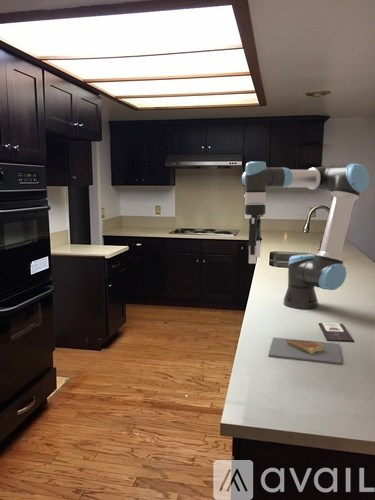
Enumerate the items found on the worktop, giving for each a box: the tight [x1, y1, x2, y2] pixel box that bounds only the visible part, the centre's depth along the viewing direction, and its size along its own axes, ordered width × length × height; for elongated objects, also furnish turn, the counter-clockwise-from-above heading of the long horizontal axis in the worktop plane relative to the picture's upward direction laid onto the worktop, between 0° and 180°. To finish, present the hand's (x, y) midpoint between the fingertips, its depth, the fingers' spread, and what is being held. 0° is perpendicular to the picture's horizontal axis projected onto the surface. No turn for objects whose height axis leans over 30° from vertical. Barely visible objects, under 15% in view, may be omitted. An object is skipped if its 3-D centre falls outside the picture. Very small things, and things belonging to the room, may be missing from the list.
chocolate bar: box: [318, 322, 355, 343], centre depth 152 cm, size 9×1×18 cm
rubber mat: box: [268, 337, 343, 365], centre depth 135 cm, size 16×22×1 cm
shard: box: [286, 339, 324, 354], centre depth 137 cm, size 11×8×2 cm
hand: (254, 260), depth 156 cm, fingers open, 13 cm apart
